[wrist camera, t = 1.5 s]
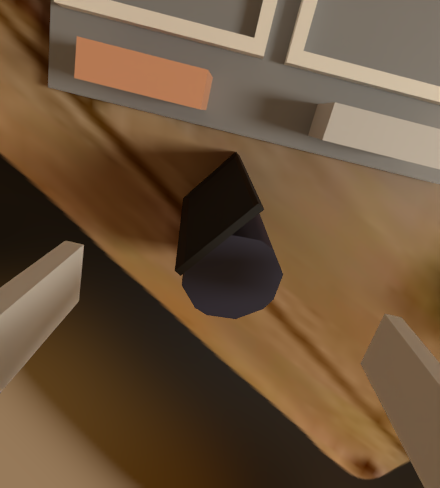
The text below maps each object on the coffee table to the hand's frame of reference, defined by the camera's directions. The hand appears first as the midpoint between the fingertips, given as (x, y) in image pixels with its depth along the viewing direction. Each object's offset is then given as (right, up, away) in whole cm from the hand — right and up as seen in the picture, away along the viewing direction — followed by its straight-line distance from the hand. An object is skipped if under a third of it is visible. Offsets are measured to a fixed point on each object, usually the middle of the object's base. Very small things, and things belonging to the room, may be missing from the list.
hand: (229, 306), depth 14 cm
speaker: (+1, +5, +12) cm, 13 cm away
